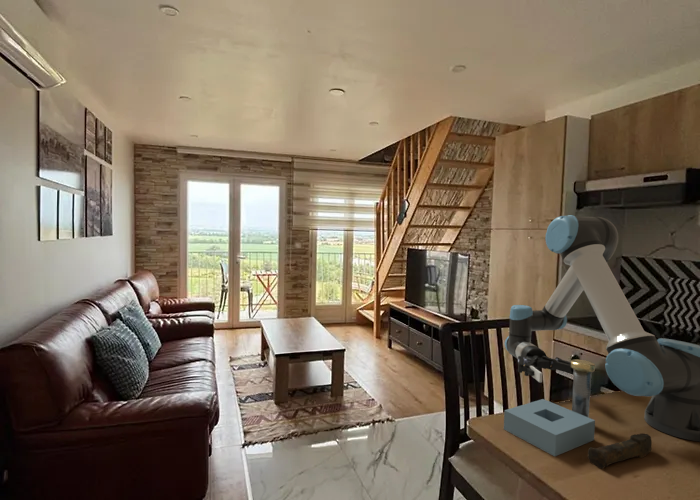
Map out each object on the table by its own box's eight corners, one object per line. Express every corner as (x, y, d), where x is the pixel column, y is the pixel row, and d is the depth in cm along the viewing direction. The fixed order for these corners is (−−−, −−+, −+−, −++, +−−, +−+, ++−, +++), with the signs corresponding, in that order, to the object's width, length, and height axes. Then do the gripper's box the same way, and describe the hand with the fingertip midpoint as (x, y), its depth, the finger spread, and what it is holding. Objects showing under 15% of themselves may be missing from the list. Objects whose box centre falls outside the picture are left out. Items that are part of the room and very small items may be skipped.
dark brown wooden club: (602, 472, 84) (604, 451, 84) (586, 461, 88) (587, 441, 88) (663, 458, 90) (664, 438, 90) (645, 449, 94) (646, 430, 94)
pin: (596, 425, 105) (599, 364, 104) (584, 429, 102) (587, 367, 102) (575, 416, 110) (578, 358, 109) (563, 420, 107) (566, 361, 107)
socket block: (594, 440, 97) (595, 420, 97) (554, 456, 89) (555, 435, 89) (542, 416, 109) (543, 398, 109) (503, 429, 101) (504, 410, 101)
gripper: (566, 367, 136) (606, 392, 114) (494, 365, 136) (520, 389, 115) (567, 346, 135) (607, 367, 114) (495, 344, 136) (522, 364, 114)
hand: (564, 378), depth 114 cm, fingers open, 13 cm apart
